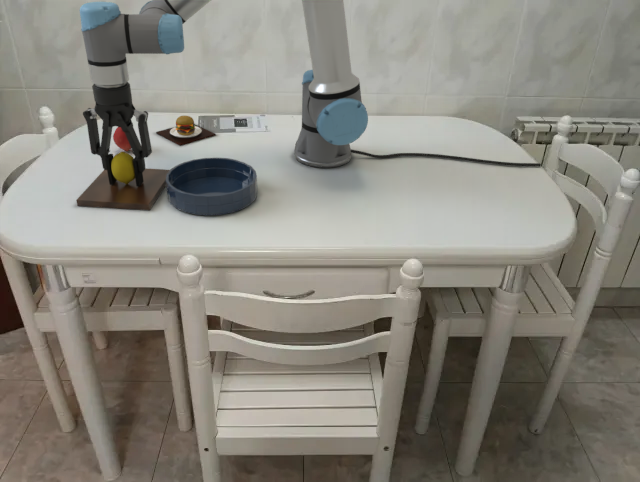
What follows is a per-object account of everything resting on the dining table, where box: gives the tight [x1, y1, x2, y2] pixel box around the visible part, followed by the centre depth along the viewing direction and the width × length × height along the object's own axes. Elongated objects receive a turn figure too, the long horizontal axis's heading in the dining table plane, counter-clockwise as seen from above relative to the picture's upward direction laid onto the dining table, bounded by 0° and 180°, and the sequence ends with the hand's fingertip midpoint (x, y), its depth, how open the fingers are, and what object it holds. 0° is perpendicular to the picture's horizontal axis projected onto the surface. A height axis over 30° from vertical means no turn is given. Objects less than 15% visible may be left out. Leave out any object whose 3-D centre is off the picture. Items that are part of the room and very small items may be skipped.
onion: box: [112, 126, 132, 152], centre depth 146 cm, size 6×6×8 cm
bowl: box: [165, 157, 258, 217], centre depth 128 cm, size 20×20×5 cm
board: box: [75, 168, 171, 211], centre depth 129 cm, size 16×18×2 cm
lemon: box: [111, 150, 135, 184], centre depth 127 cm, size 6×6×8 cm
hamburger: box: [155, 115, 217, 147], centre depth 159 cm, size 12×12×6 cm
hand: (126, 182), depth 129 cm, fingers closed on lemon, 5 cm apart
